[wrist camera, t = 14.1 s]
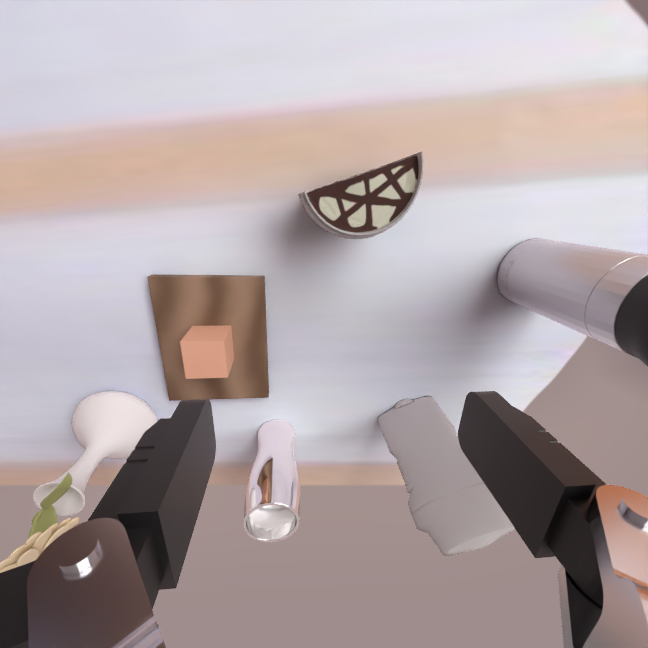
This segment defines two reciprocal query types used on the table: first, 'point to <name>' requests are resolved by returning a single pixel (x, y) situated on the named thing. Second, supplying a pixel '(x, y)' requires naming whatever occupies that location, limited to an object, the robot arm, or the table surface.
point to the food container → (366, 199)
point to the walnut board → (213, 310)
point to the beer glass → (273, 485)
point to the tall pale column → (441, 479)
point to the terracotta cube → (207, 352)
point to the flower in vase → (84, 465)
